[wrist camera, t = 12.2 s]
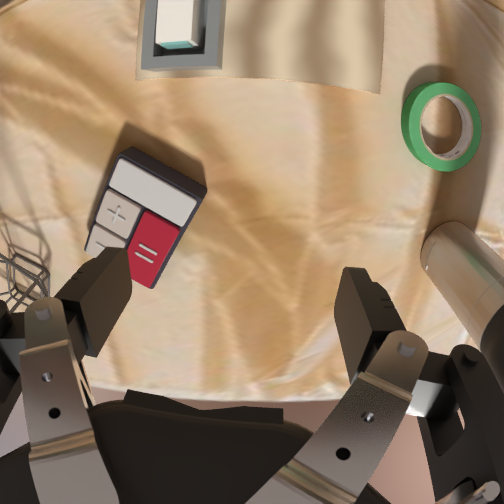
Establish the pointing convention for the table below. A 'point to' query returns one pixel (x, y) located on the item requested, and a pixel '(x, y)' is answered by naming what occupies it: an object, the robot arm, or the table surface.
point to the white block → (180, 24)
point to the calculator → (144, 213)
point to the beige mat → (296, 43)
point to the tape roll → (413, 121)
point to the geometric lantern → (25, 272)
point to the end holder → (194, 59)
